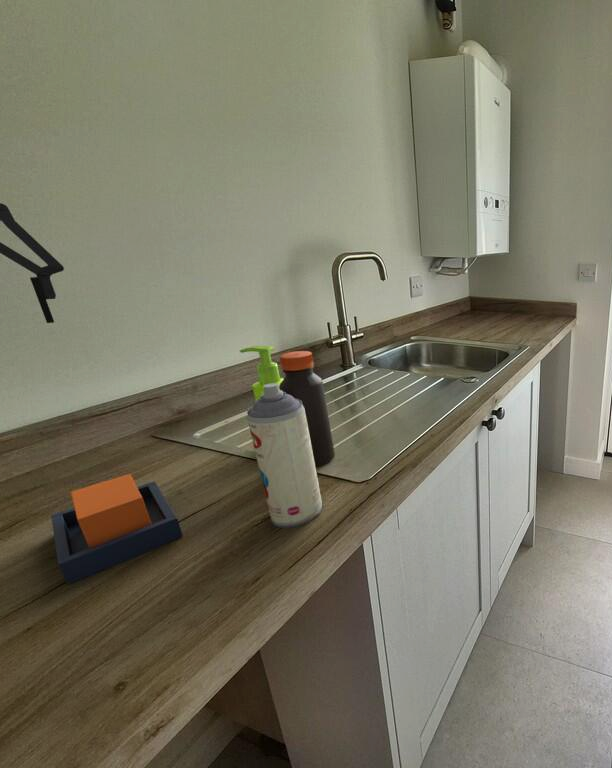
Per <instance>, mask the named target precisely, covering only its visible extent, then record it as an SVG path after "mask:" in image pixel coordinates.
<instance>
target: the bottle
mask: <svg viewBox="0 0 612 768" xmlns="http://www.w3.org/2000/svg"><path fill="white" fill-rule="evenodd" d="M279 360H280V361H279V362H280V366H281V369H282V373H284V376H285V377H283V378H284V379H283V380H282V382H281V383H280V386H279V389H280V390H282V391H283V392H285V393H286V394H289V395H291V396H292V397H294V399H299V400H301V401H302V405H303V407H304V409H305V414H306V419H307V424H308V430H309V435H310V441H311V446H312V451H313V457H314V462H315V468H316V467H320V466H323V465H326V464H327V463H329V462H330V461H332V460H333V459H334V457H335V448H334V443H333V442H334V441H333V436H332V431H331V430H332V429H331V423H330V418H329V417H330V416H329V412H328V407H327V406H328V405H327V400H326V393H325V387H324V382H323V379H322V378H321V377H320V376H319V375H318V374H316V373H314V368H315V362H314V358H313V352H312V351H307V350H298V351H297V350H295V351H290V352H285V353H282V354H281V355H280V356H279Z"/></svg>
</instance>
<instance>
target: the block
mask: <svg viewBox="0 0 612 768" xmlns="http://www.w3.org/2000/svg"><path fill="white" fill-rule="evenodd" d="M137 487H138V486H137V484H136V482H135V480H134V478H133V477H132V475H131V473H127V474H125V475H121V476H118V477H114V478H112V479H109V480H105V481H102V482H99V483H95V484H91V485H89V486H86V487H82V488H78V489H75V490H72V491H70V496H71V499H72V504H73V508H75V512H76V516H77V520H78V523H79V525H80V527H81V530H82V532H83V535H84V537H85V539H86V542H87V544H88V546H89V548H92V547H94V546H97V545H99V544H102V543H105V542H107V541H110V540H112V539H115V538H118V537H120V536H123V535H125V534H128V533H130V532H133V531H136V530H138V529H141V528H143V527H146V526H149V525H151V521H150V518H149V515H148V512H147V509H146V506H145V504H144V501H143V498H142V496H141V494H140V492H139V490H138V488H137Z"/></svg>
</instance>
